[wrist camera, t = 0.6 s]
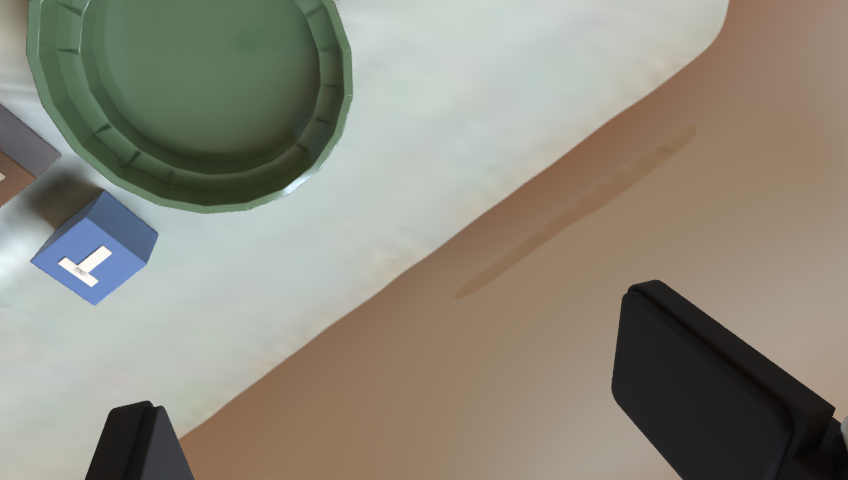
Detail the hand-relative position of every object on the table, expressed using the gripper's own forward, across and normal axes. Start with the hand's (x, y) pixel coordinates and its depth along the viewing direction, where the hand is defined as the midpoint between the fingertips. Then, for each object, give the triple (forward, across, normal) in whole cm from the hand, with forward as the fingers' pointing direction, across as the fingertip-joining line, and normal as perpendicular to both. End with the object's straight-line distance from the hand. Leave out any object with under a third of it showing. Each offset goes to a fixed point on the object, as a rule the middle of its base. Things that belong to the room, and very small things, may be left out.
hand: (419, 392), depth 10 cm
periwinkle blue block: (+34, +17, +8) cm, 38 cm away
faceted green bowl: (+33, +6, -3) cm, 34 cm away
